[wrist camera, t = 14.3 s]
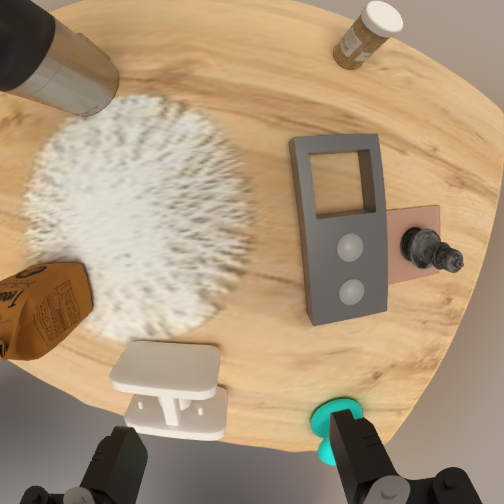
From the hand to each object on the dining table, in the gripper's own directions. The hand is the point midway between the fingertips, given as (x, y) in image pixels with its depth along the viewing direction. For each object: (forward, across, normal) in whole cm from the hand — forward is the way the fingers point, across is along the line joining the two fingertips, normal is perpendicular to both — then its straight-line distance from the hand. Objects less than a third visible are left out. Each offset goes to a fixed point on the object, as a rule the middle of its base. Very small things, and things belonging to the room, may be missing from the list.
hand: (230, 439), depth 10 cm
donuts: (+30, -13, +33) cm, 47 cm away
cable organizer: (+30, +12, +17) cm, 37 cm away
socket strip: (+30, -14, -2) cm, 33 cm away
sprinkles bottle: (+30, -19, -27) cm, 45 cm away
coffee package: (+30, +29, +1) cm, 42 cm away
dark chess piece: (+30, -26, +2) cm, 40 cm away
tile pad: (+30, -26, +2) cm, 40 cm away
